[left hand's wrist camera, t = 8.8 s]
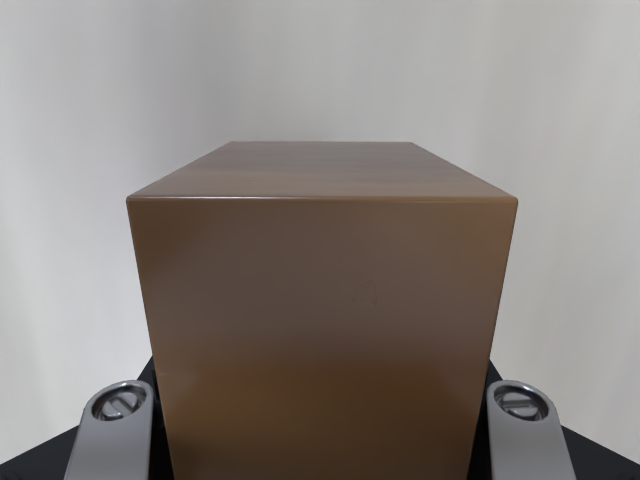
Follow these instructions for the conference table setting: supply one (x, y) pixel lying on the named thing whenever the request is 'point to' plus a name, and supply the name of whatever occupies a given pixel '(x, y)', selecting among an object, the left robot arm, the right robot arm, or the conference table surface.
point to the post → (321, 309)
